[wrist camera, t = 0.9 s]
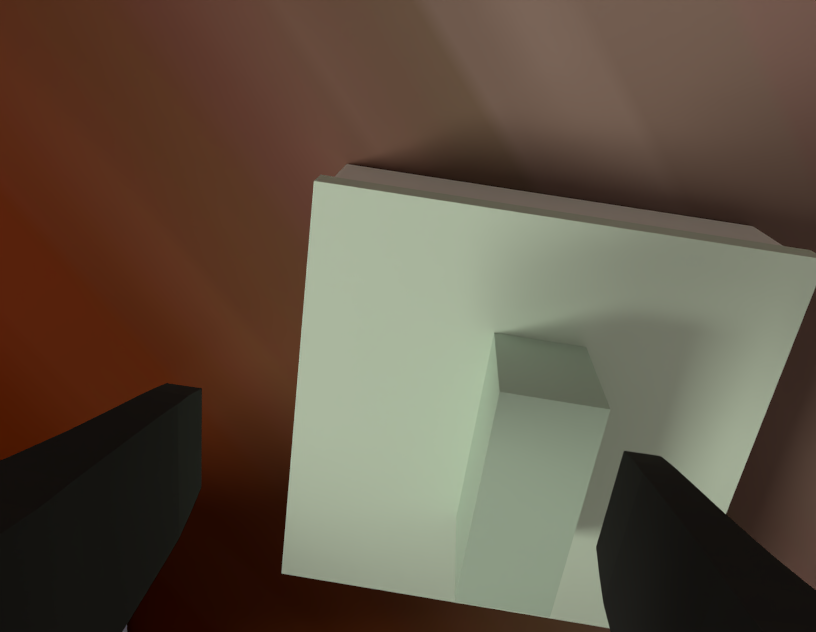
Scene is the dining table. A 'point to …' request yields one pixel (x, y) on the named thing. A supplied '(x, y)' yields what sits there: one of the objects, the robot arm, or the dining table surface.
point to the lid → (514, 387)
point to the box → (555, 203)
